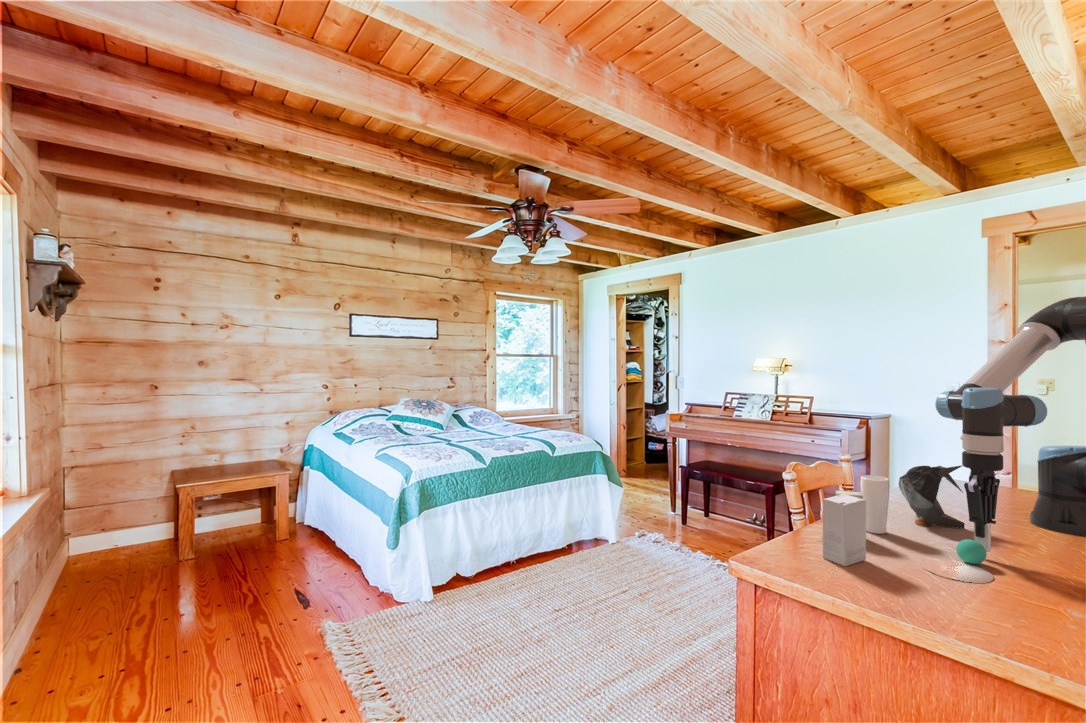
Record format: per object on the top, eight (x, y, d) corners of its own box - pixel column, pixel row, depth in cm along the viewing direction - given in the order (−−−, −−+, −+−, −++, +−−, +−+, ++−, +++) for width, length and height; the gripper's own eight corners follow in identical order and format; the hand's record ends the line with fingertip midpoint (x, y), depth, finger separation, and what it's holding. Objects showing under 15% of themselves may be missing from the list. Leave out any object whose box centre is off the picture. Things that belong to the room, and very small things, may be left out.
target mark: (961, 559, 123) (961, 558, 123) (1010, 583, 110) (1010, 582, 110) (906, 559, 123) (906, 558, 123) (948, 583, 110) (948, 582, 110)
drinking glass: (894, 536, 139) (894, 481, 139) (866, 534, 140) (866, 480, 140) (883, 528, 145) (882, 475, 145) (856, 526, 147) (856, 474, 147)
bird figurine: (893, 514, 159) (893, 456, 158) (955, 520, 152) (955, 459, 152) (903, 528, 146) (903, 464, 145) (971, 535, 139) (971, 469, 139)
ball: (958, 541, 119) (958, 564, 119) (989, 545, 117) (988, 569, 117) (954, 534, 124) (954, 557, 124) (983, 538, 121) (983, 562, 121)
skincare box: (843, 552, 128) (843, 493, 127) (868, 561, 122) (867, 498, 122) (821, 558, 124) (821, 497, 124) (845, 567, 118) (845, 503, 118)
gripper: (975, 447, 130) (975, 540, 130) (950, 452, 123) (950, 550, 123) (1013, 451, 123) (1013, 550, 123) (989, 457, 117) (989, 560, 117)
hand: (982, 549), depth 123 cm, fingers closed
